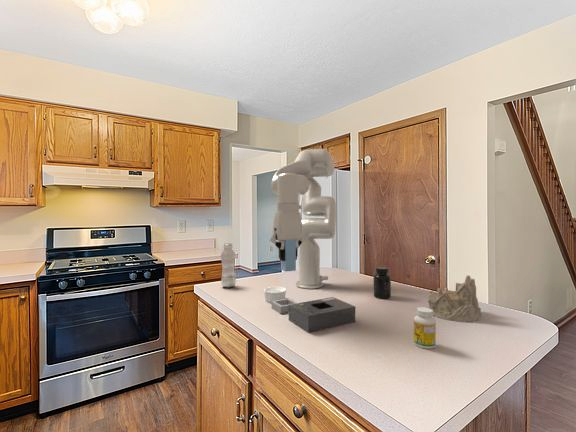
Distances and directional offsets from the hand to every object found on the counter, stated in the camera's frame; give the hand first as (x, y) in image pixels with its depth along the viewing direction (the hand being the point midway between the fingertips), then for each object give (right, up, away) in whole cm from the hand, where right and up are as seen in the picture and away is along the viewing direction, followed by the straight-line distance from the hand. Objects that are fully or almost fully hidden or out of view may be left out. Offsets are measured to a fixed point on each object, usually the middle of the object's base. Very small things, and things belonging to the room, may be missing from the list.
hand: (288, 259), depth 112 cm
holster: (-1, -18, +2) cm, 18 cm away
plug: (0, -4, 0) cm, 4 cm away
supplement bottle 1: (+38, -18, +17) cm, 46 cm away
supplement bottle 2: (+37, -19, -27) cm, 50 cm away
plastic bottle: (-28, -17, +33) cm, 46 cm away
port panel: (+11, -19, -10) cm, 24 cm away
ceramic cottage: (+58, -19, -3) cm, 61 cm away
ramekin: (-5, -18, +13) cm, 23 cm away
